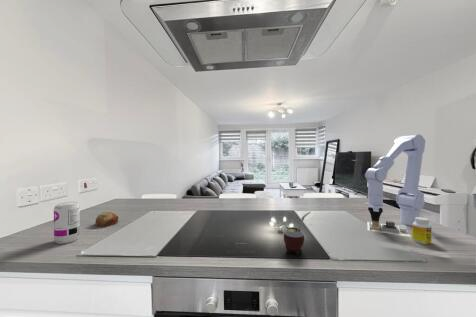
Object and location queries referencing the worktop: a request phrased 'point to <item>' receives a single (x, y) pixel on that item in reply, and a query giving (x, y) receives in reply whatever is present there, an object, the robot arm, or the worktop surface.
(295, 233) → the mate gourd
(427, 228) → the supplement bottle
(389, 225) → the black push button
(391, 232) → the switch board
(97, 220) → the bread roll
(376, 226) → the tan block
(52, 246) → the worktop surface
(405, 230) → the grey rocker switch
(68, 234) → the supplement can
